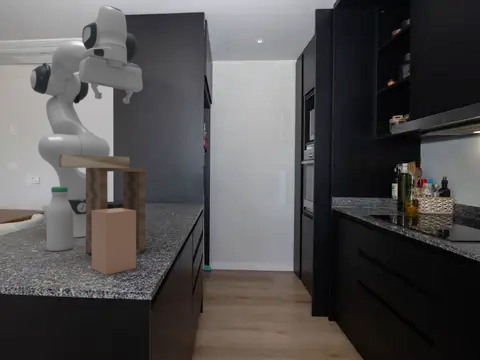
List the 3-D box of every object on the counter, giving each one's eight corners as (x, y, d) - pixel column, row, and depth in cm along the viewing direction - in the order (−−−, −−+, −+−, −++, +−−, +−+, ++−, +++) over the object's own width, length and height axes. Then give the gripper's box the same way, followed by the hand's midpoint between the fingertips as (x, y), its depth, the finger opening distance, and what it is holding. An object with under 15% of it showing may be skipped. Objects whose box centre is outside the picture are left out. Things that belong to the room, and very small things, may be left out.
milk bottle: (78, 247, 109) (78, 186, 109) (57, 252, 102) (56, 187, 102) (62, 245, 113) (62, 186, 112) (40, 250, 106) (40, 186, 105)
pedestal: (91, 268, 86) (91, 210, 86) (121, 262, 92) (121, 208, 92) (105, 275, 81) (105, 213, 80) (136, 268, 86) (136, 210, 86)
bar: (58, 167, 92) (58, 154, 92) (123, 168, 106) (123, 157, 106) (63, 167, 89) (63, 154, 89) (129, 168, 103) (129, 156, 103)
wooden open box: (86, 254, 101) (85, 167, 100) (129, 246, 111) (129, 168, 110) (100, 260, 94) (100, 167, 93) (145, 252, 104) (145, 168, 103)
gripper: (136, 67, 119) (136, 106, 119) (76, 52, 104) (76, 97, 104) (146, 63, 114) (146, 104, 115) (84, 47, 99) (85, 94, 100)
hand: (112, 101), depth 109 cm, fingers open, 8 cm apart
